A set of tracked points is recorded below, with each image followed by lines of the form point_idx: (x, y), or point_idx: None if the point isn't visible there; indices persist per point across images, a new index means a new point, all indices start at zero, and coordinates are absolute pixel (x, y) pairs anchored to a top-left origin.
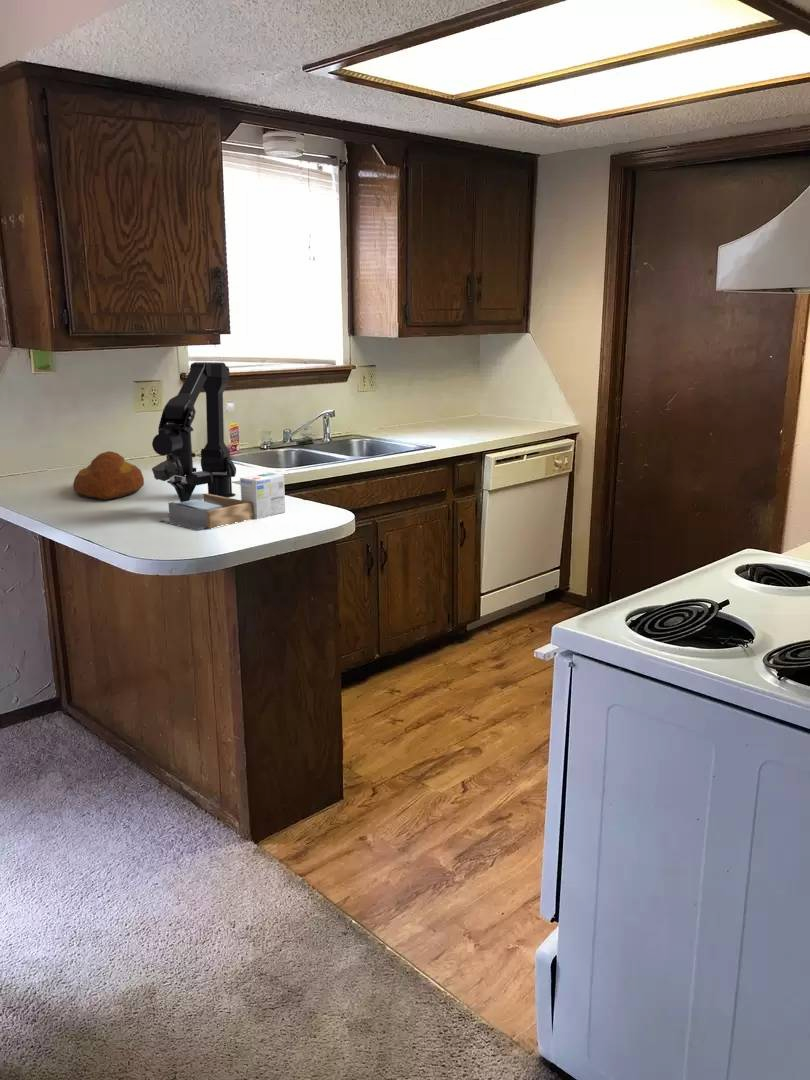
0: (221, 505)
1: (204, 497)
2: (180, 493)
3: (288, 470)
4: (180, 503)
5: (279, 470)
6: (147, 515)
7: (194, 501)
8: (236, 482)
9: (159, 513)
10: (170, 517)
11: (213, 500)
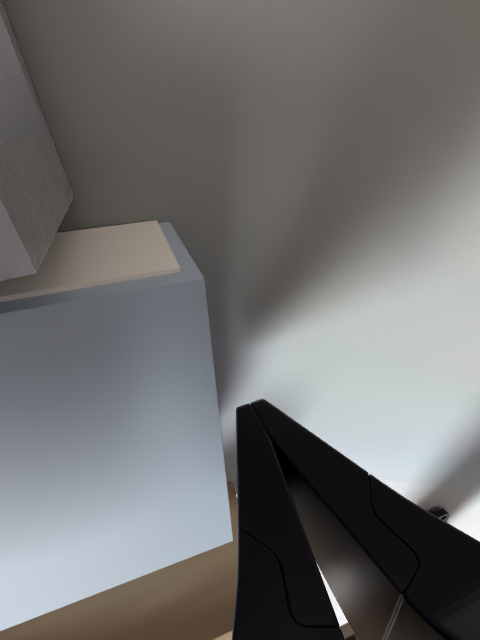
0: (24, 635)
1: None
2: (329, 519)
3: None
4: (137, 400)
5: None
6: (418, 37)
7: (147, 532)
8: None
9: (382, 195)
10: (10, 134)
11: (130, 625)
